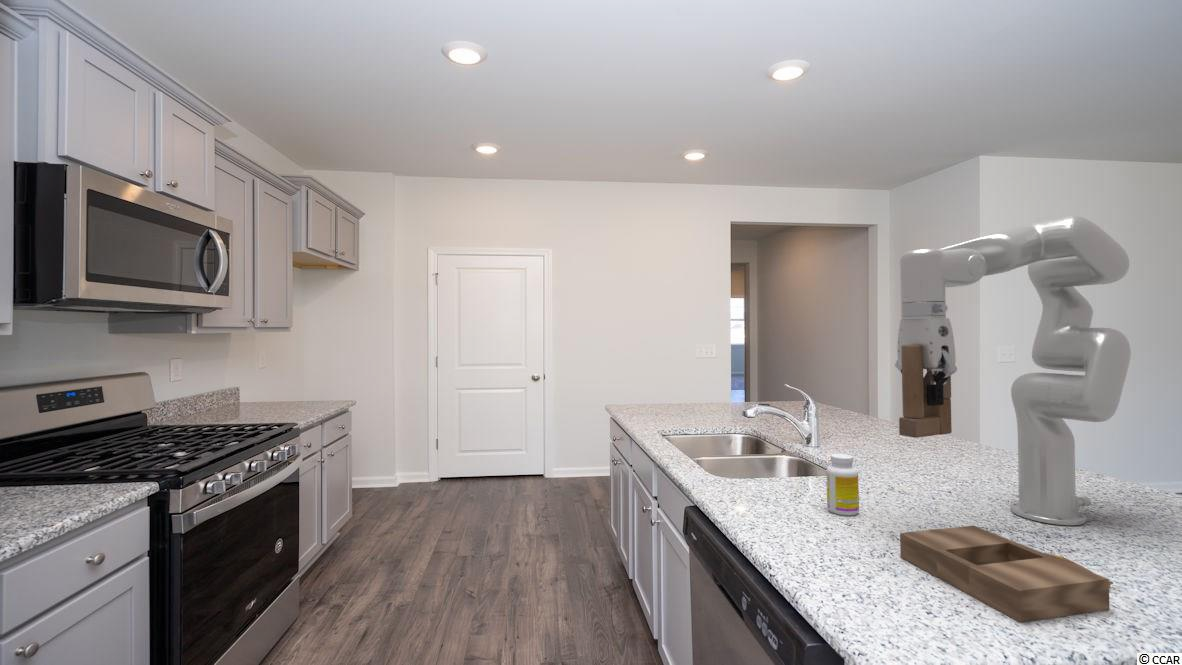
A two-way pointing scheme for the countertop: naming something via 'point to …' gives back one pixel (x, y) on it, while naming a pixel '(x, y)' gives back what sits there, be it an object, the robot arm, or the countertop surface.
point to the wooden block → (921, 399)
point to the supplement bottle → (842, 486)
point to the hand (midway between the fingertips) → (924, 402)
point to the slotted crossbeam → (1006, 573)
